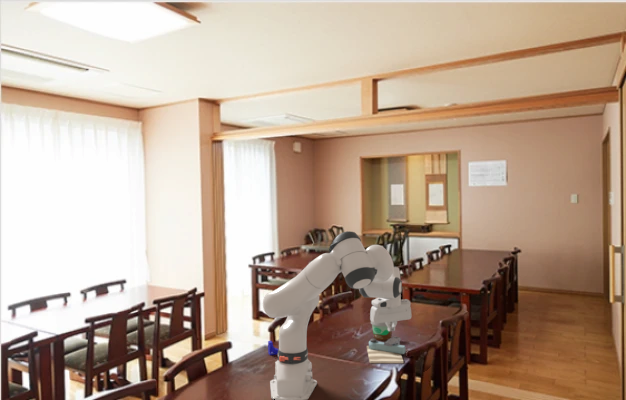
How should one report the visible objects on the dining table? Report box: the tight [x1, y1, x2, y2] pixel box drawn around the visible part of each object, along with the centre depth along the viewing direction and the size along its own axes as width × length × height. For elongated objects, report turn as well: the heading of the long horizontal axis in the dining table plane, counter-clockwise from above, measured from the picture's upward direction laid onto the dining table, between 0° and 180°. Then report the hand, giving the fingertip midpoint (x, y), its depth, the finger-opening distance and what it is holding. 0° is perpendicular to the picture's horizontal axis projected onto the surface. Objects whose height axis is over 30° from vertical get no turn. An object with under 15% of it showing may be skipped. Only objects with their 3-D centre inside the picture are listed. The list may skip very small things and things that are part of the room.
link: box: [368, 340, 406, 355], centre depth 210 cm, size 18×4×3 cm, turn 60°
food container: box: [370, 321, 393, 342], centre depth 229 cm, size 12×6×10 cm, turn 62°
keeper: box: [383, 336, 401, 347], centre depth 210 cm, size 4×11×6 cm, turn 147°
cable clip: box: [267, 340, 279, 356], centre depth 214 cm, size 12×4×6 cm, turn 110°
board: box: [366, 337, 404, 364], centre depth 206 cm, size 20×15×5 cm
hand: (391, 330), depth 202 cm, fingers closed
